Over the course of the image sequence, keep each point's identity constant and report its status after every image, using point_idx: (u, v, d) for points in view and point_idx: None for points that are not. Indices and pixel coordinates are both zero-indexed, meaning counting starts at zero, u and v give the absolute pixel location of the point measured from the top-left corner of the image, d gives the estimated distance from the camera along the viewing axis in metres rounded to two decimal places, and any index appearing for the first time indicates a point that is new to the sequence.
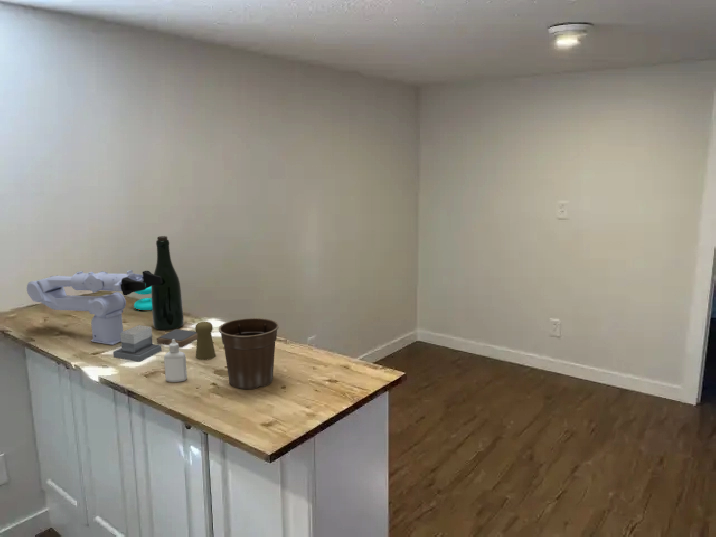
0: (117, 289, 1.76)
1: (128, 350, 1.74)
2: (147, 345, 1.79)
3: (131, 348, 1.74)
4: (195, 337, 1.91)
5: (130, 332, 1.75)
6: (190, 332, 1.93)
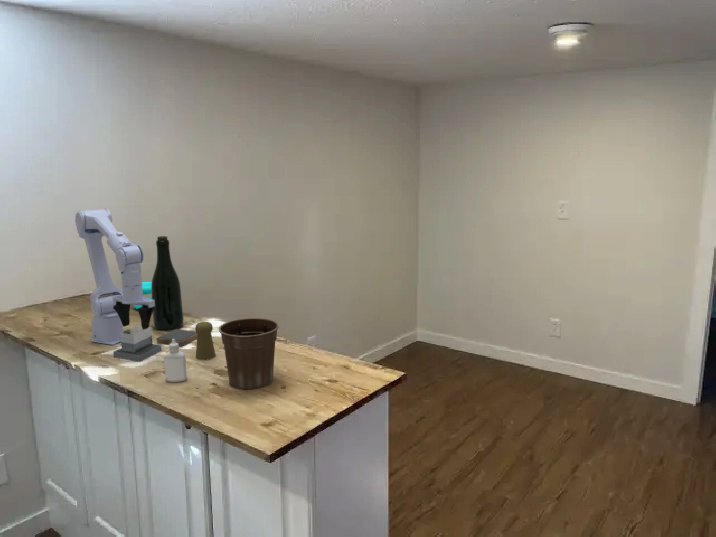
0: None
1: (128, 350, 1.74)
2: (147, 345, 1.79)
3: (131, 348, 1.74)
4: (195, 337, 1.91)
5: (130, 332, 1.75)
6: (190, 332, 1.93)
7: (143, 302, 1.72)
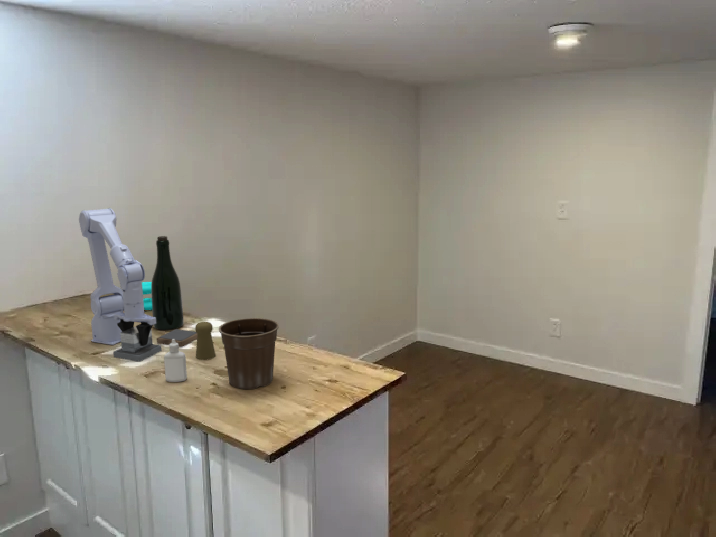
0: None
1: (128, 350, 1.74)
2: (147, 345, 1.79)
3: (131, 348, 1.74)
4: (195, 337, 1.91)
5: (130, 332, 1.75)
6: (190, 332, 1.93)
7: (144, 319, 1.73)
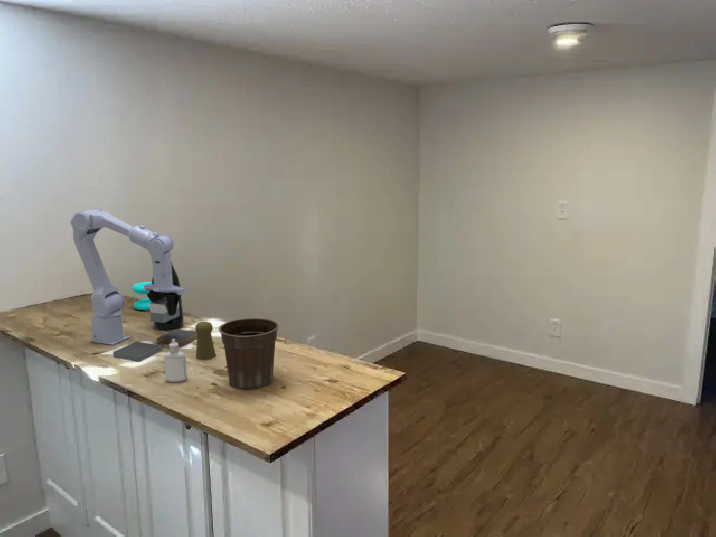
0: None
1: (157, 320, 1.81)
2: (175, 316, 1.86)
3: (160, 318, 1.81)
4: (195, 337, 1.91)
5: (158, 302, 1.82)
6: (190, 332, 1.93)
7: (173, 290, 1.80)
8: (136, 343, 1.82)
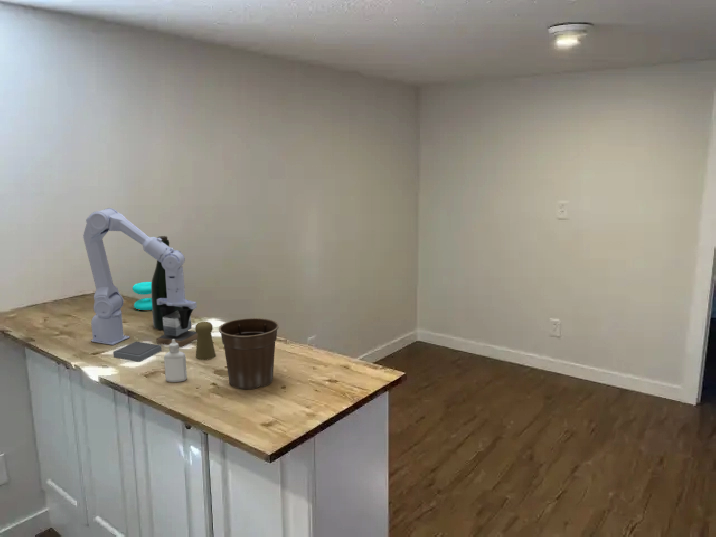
0: None
1: (170, 333, 1.86)
2: (187, 329, 1.91)
3: (173, 331, 1.86)
4: (195, 337, 1.91)
5: (171, 316, 1.86)
6: (190, 332, 1.93)
7: (186, 304, 1.85)
8: (136, 343, 1.82)
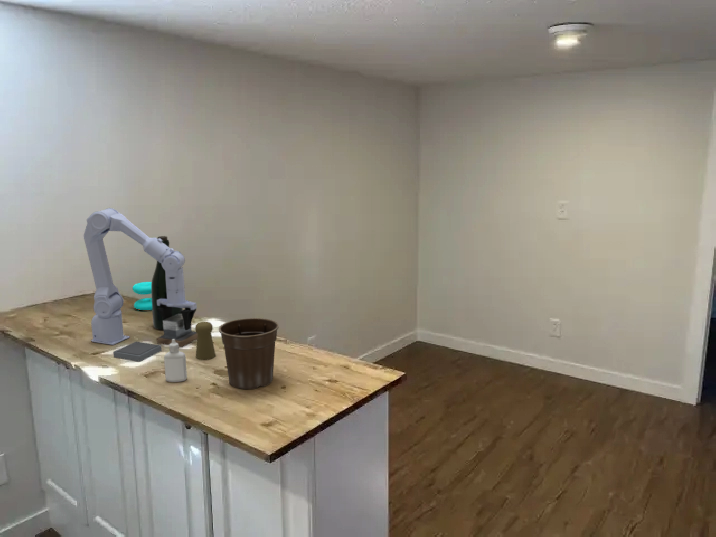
0: None
1: (170, 336, 1.87)
2: (187, 332, 1.91)
3: (173, 334, 1.86)
4: (195, 337, 1.91)
5: (171, 320, 1.87)
6: None
7: (186, 305, 1.85)
8: (136, 343, 1.82)
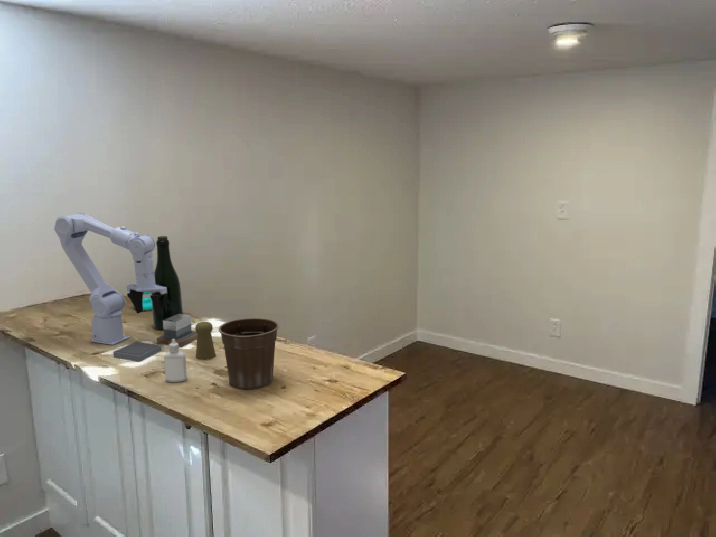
0: None
1: (170, 336, 1.87)
2: (187, 332, 1.91)
3: (173, 334, 1.86)
4: (195, 337, 1.91)
5: (171, 320, 1.87)
6: None
7: (156, 289, 1.81)
8: (136, 343, 1.82)
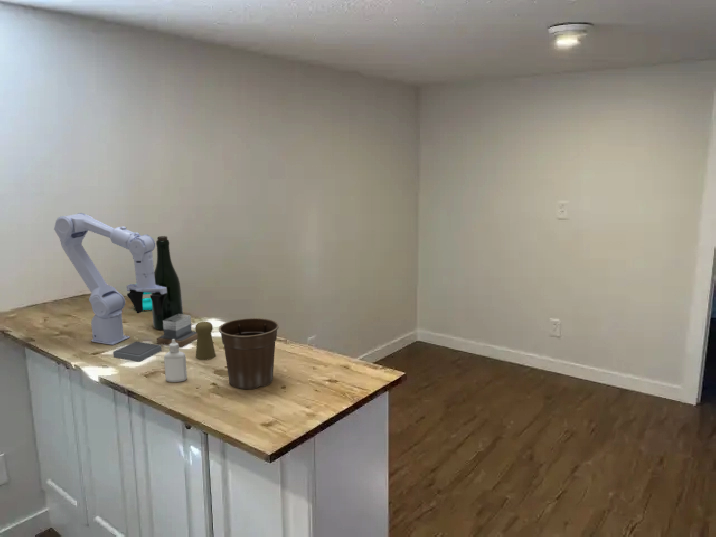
0: None
1: (170, 336, 1.87)
2: (187, 332, 1.91)
3: (173, 334, 1.86)
4: (195, 337, 1.91)
5: (171, 320, 1.87)
6: None
7: (156, 289, 1.81)
8: (136, 343, 1.82)
